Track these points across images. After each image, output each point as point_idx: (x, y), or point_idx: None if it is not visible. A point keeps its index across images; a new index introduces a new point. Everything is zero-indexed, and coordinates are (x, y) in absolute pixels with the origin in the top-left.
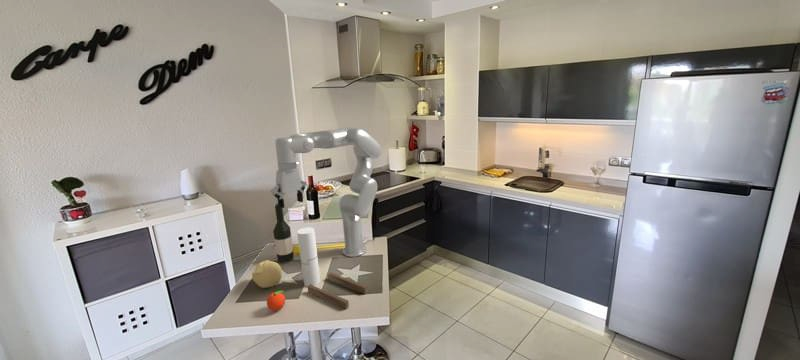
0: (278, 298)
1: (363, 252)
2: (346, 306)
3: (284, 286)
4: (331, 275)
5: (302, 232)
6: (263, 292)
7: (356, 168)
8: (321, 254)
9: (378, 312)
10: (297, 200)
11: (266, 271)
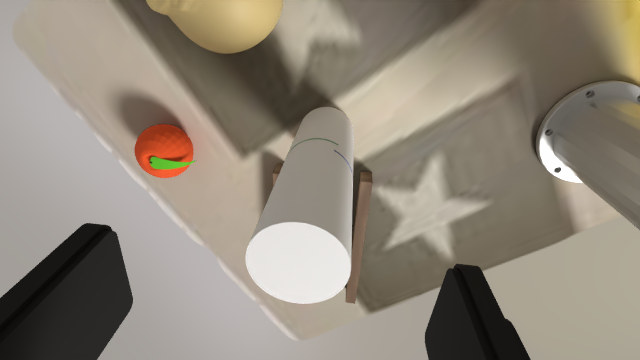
0: (156, 176)
1: (575, 181)
2: None
3: (257, 65)
4: (358, 198)
5: (267, 266)
6: None
7: None
8: (533, 4)
9: (305, 331)
10: (453, 271)
11: (185, 30)
